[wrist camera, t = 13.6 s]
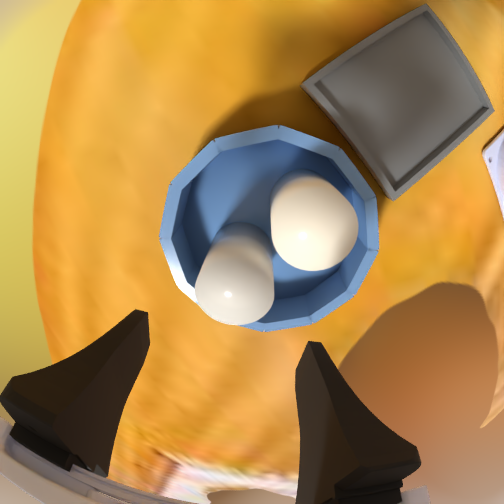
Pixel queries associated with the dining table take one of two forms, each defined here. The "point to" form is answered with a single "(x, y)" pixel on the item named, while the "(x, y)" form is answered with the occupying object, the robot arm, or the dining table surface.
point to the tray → (402, 98)
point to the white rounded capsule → (311, 221)
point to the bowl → (266, 217)
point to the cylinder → (237, 275)
